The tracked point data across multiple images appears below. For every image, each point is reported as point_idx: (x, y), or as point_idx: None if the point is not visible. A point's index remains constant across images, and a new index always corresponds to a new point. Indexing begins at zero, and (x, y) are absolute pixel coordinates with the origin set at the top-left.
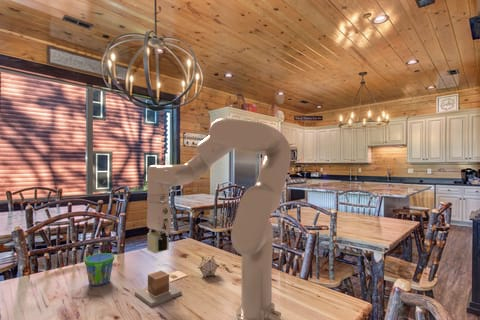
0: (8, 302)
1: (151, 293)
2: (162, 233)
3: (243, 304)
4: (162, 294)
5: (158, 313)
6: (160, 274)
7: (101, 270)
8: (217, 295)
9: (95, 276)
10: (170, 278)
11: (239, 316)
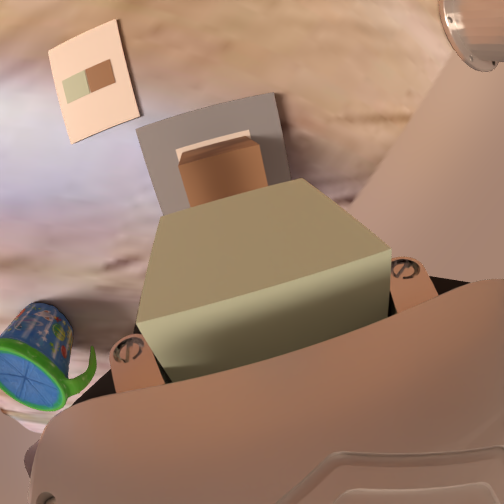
0: None
1: None
2: (337, 329)
3: (498, 58)
4: None
5: (340, 204)
6: (231, 182)
7: (64, 360)
8: (351, 5)
9: (95, 370)
10: (105, 93)
11: (474, 63)
